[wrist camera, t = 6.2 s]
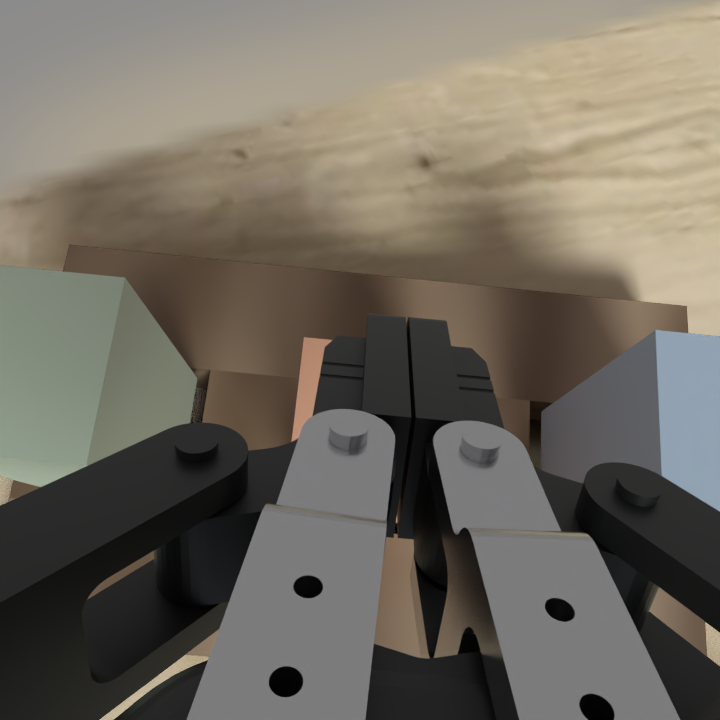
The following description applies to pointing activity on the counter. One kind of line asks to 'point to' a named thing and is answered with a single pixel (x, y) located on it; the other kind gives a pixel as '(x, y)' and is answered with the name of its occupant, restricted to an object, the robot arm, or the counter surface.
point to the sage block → (81, 373)
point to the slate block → (644, 415)
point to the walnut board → (349, 318)
